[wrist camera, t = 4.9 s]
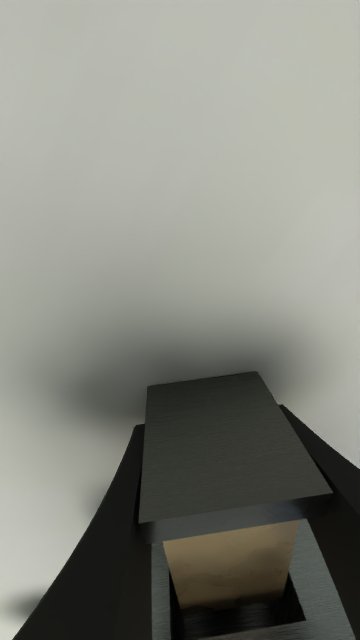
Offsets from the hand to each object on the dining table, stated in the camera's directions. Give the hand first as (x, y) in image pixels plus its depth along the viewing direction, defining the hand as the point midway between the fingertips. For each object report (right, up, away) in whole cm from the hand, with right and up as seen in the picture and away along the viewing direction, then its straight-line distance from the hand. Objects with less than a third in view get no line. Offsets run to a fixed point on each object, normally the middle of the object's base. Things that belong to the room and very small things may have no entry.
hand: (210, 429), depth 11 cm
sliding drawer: (0, -2, +3) cm, 4 cm away
